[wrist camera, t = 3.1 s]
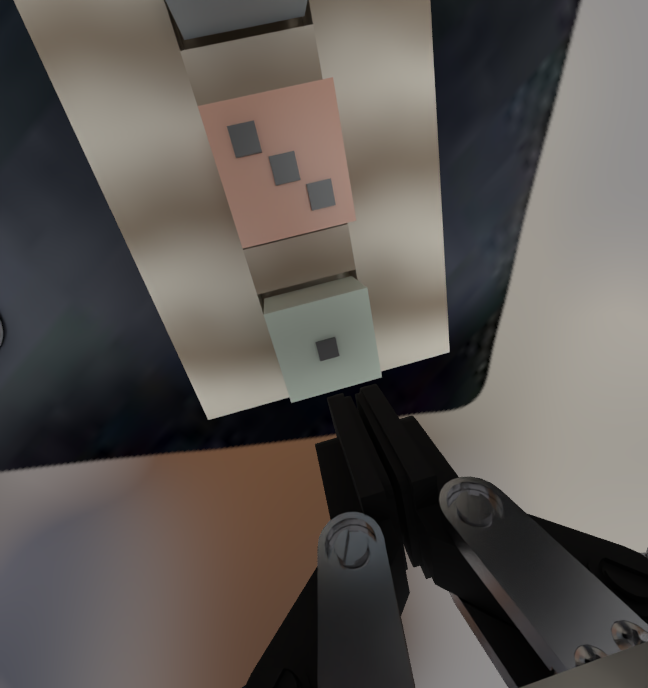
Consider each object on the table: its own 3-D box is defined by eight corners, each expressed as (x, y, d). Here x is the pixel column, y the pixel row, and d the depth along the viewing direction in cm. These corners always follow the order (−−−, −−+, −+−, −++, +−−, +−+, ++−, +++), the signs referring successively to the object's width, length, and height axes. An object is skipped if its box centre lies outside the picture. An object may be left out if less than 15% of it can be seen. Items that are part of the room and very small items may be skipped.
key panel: (-2, -106, 12) (-78, -198, 10) (385, -169, 13) (415, -268, 11) (215, 394, 22) (208, 419, 19) (428, 335, 23) (449, 352, 20)
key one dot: (264, 298, 17) (263, 316, 14) (351, 275, 17) (368, 288, 14) (287, 375, 19) (291, 404, 16) (365, 354, 19) (383, 379, 17)
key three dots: (211, 127, 14) (196, 104, 11) (320, 103, 14) (334, 74, 11) (246, 242, 16) (242, 249, 13) (341, 219, 16) (357, 220, 13)
